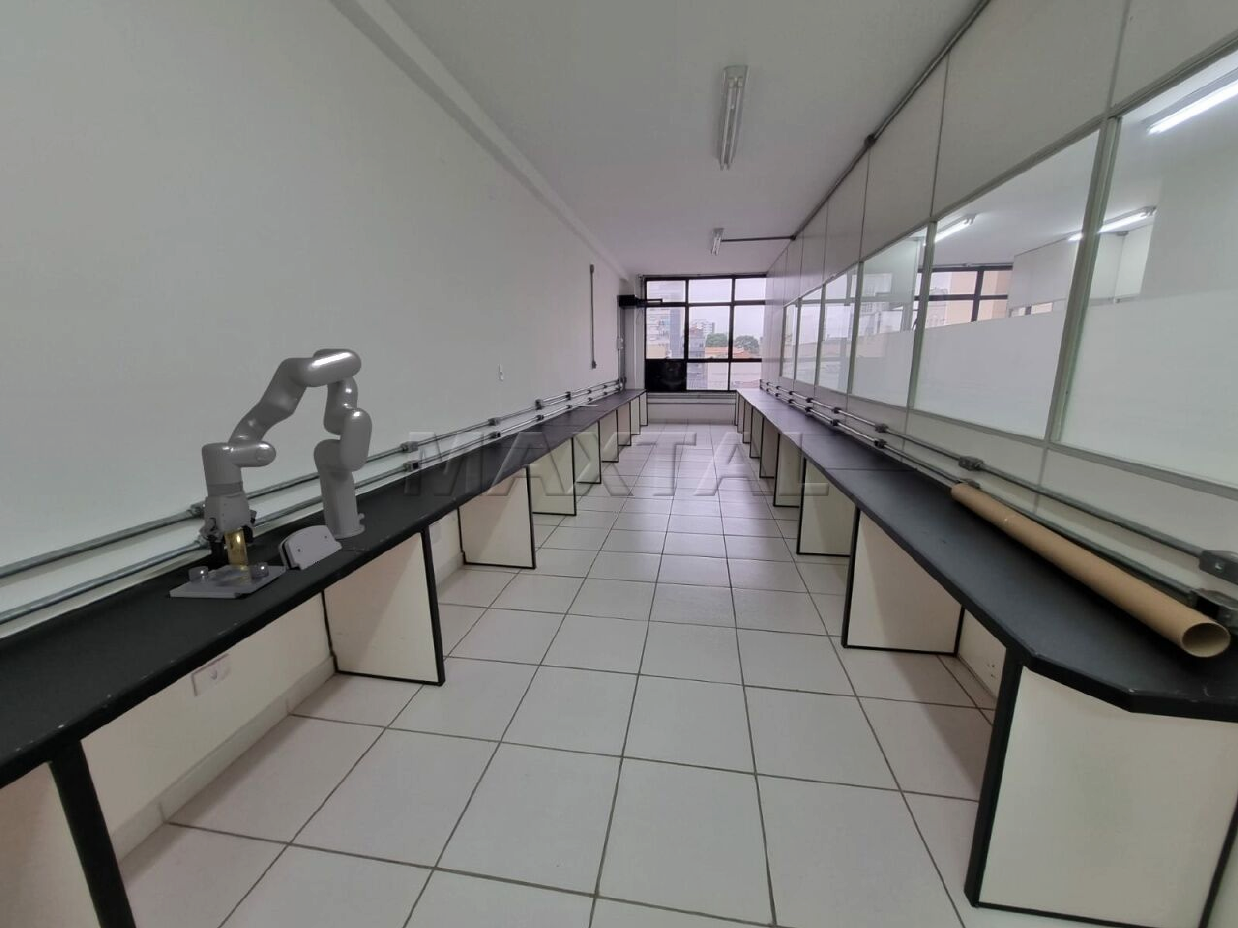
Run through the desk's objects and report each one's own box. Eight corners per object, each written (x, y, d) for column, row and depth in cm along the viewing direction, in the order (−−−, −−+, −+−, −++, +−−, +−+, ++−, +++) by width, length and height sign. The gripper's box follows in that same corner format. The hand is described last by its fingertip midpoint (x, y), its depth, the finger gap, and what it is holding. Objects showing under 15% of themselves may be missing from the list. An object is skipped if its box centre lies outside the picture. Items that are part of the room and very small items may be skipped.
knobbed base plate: (213, 575, 127) (210, 554, 126) (286, 576, 126) (283, 555, 125) (170, 596, 115) (166, 573, 114) (251, 598, 115) (247, 575, 113)
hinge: (301, 570, 130) (285, 537, 129) (287, 574, 131) (271, 542, 129) (342, 547, 146) (329, 517, 145) (330, 551, 147) (316, 522, 146)
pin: (238, 562, 135) (232, 529, 133) (252, 563, 135) (246, 529, 133) (226, 568, 131) (220, 534, 129) (240, 569, 131) (234, 534, 129)
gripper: (238, 481, 136) (245, 537, 140) (181, 496, 120) (191, 560, 123) (263, 481, 136) (270, 538, 139) (210, 497, 119) (220, 561, 122)
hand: (233, 548), depth 131 cm, fingers open, 9 cm apart
